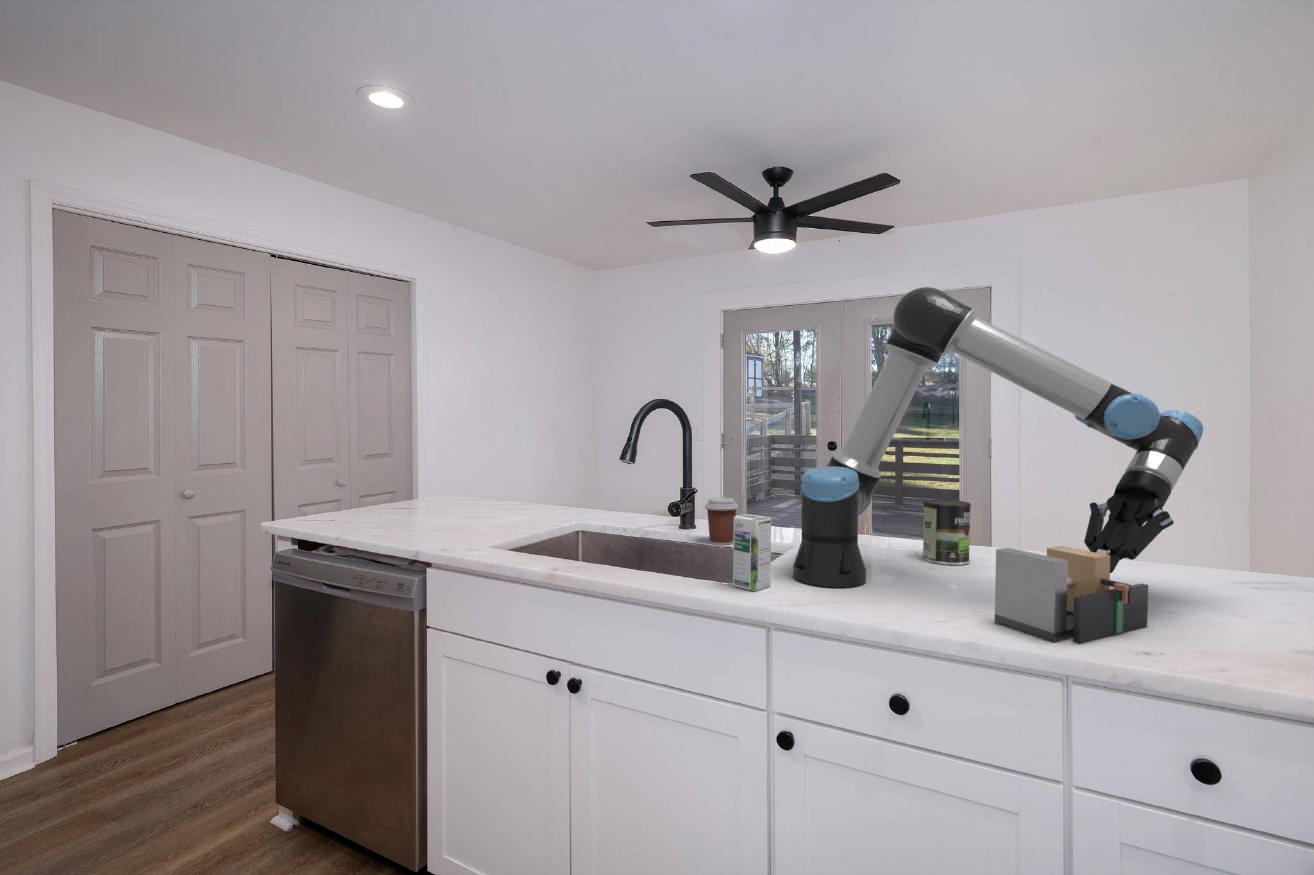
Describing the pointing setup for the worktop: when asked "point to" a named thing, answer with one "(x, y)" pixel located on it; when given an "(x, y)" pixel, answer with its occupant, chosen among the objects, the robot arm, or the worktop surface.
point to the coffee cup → (721, 520)
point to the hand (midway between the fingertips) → (1089, 583)
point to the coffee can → (946, 532)
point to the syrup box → (752, 552)
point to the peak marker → (1124, 591)
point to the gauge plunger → (1085, 572)
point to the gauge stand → (1059, 601)
